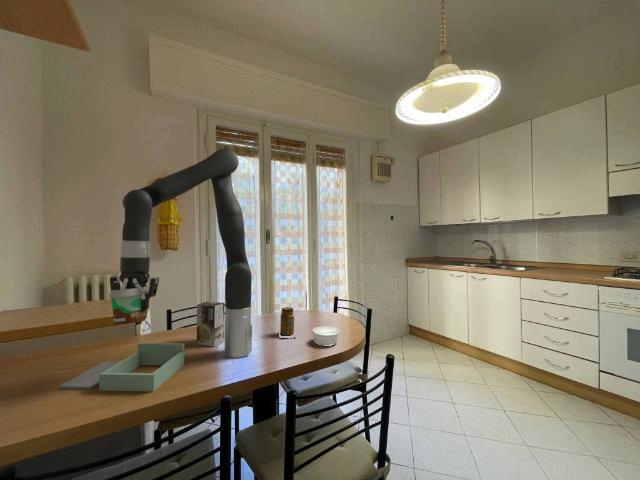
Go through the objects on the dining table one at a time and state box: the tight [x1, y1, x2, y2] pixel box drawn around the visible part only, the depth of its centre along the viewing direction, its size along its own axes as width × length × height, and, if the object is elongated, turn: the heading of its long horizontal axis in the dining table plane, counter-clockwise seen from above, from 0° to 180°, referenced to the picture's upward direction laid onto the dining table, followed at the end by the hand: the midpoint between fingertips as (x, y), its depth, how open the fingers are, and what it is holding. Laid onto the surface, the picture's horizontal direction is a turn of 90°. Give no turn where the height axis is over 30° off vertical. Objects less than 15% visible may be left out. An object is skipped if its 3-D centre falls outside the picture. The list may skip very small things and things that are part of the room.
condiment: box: [278, 306, 295, 340], centre depth 123 cm, size 7×8×12 cm
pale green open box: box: [98, 342, 185, 392], centre depth 85 cm, size 15×17×7 cm
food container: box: [108, 284, 150, 325], centre depth 85 cm, size 12×6×10 cm, turn 170°
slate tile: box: [58, 360, 120, 391], centre depth 85 cm, size 9×16×1 cm, turn 0°
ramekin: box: [312, 325, 340, 345], centre depth 115 cm, size 11×11×5 cm
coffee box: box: [196, 301, 225, 348], centre depth 114 cm, size 9×6×16 cm
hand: (133, 310), depth 85 cm, fingers closed on food container, 5 cm apart
